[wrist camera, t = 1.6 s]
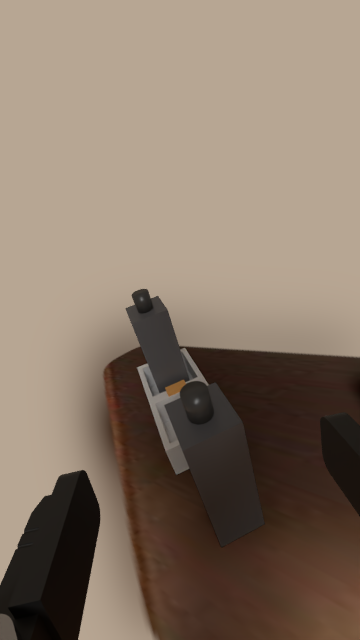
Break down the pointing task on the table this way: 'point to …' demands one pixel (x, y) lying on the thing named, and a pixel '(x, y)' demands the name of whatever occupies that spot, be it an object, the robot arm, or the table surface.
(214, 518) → the plug
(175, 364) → the twin plug
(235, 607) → the table surface
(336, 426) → the robot arm
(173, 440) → the grey rectangular tray
